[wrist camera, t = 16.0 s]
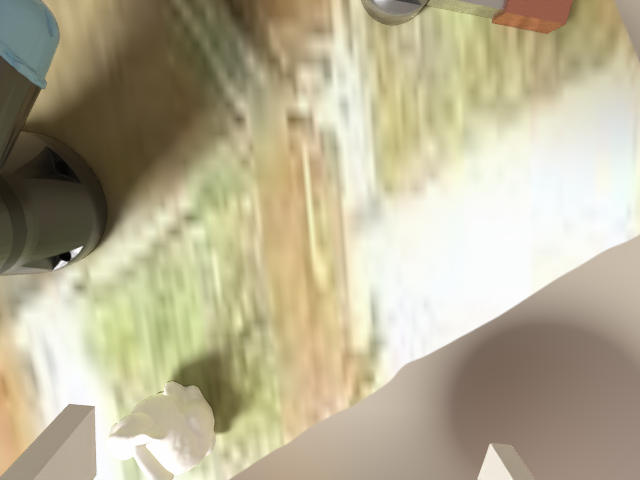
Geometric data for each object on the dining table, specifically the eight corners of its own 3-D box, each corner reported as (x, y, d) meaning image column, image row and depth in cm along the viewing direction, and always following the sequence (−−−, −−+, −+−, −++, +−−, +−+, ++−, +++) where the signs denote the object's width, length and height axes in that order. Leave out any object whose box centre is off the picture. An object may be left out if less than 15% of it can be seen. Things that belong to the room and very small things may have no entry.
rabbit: (133, 389, 43) (68, 477, 31) (188, 351, 42) (141, 427, 30) (195, 449, 46) (156, 550, 34) (248, 415, 44) (226, 507, 33)
